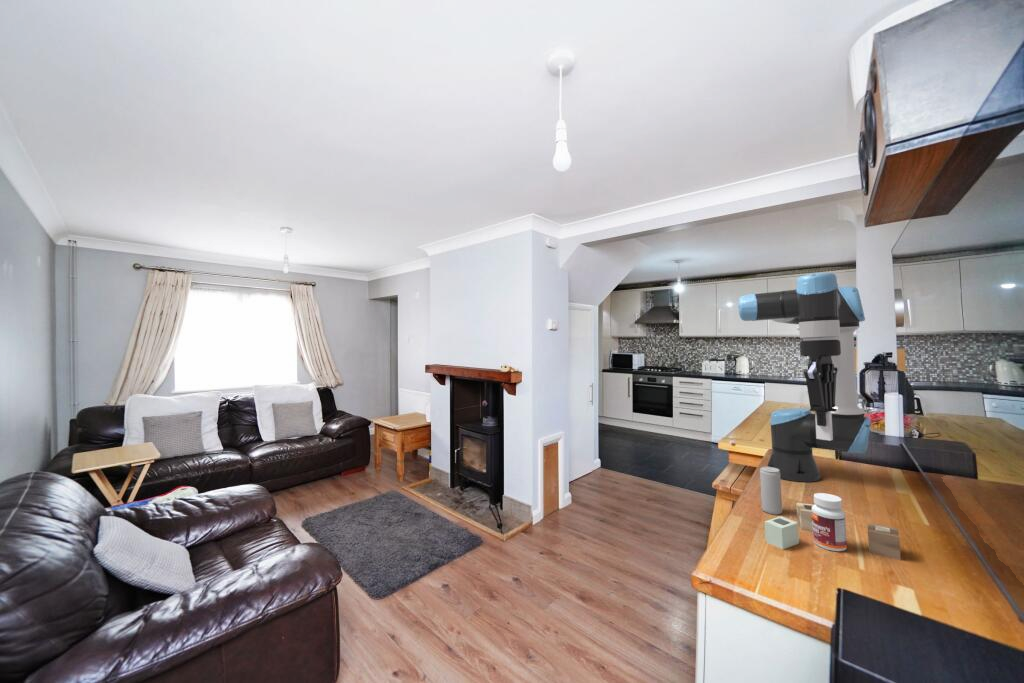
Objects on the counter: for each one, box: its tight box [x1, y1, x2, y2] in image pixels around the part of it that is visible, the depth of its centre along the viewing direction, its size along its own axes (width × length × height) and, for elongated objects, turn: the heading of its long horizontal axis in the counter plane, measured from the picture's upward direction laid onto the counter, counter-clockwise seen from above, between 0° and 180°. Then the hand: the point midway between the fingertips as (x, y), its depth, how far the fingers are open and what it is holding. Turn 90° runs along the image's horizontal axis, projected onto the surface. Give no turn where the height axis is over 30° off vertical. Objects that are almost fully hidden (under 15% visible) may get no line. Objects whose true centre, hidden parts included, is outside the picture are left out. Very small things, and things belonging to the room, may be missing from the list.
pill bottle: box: [811, 492, 848, 552], centre depth 90 cm, size 6×6×11 cm
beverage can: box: [759, 466, 783, 516], centre depth 108 cm, size 5×5×12 cm
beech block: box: [796, 502, 814, 532], centre depth 99 cm, size 5×5×5 cm
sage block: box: [764, 515, 800, 550], centre depth 92 cm, size 6×4×5 cm, turn 112°
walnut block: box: [867, 522, 902, 561], centre depth 86 cm, size 5×5×5 cm
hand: (824, 439), depth 90 cm, fingers closed
